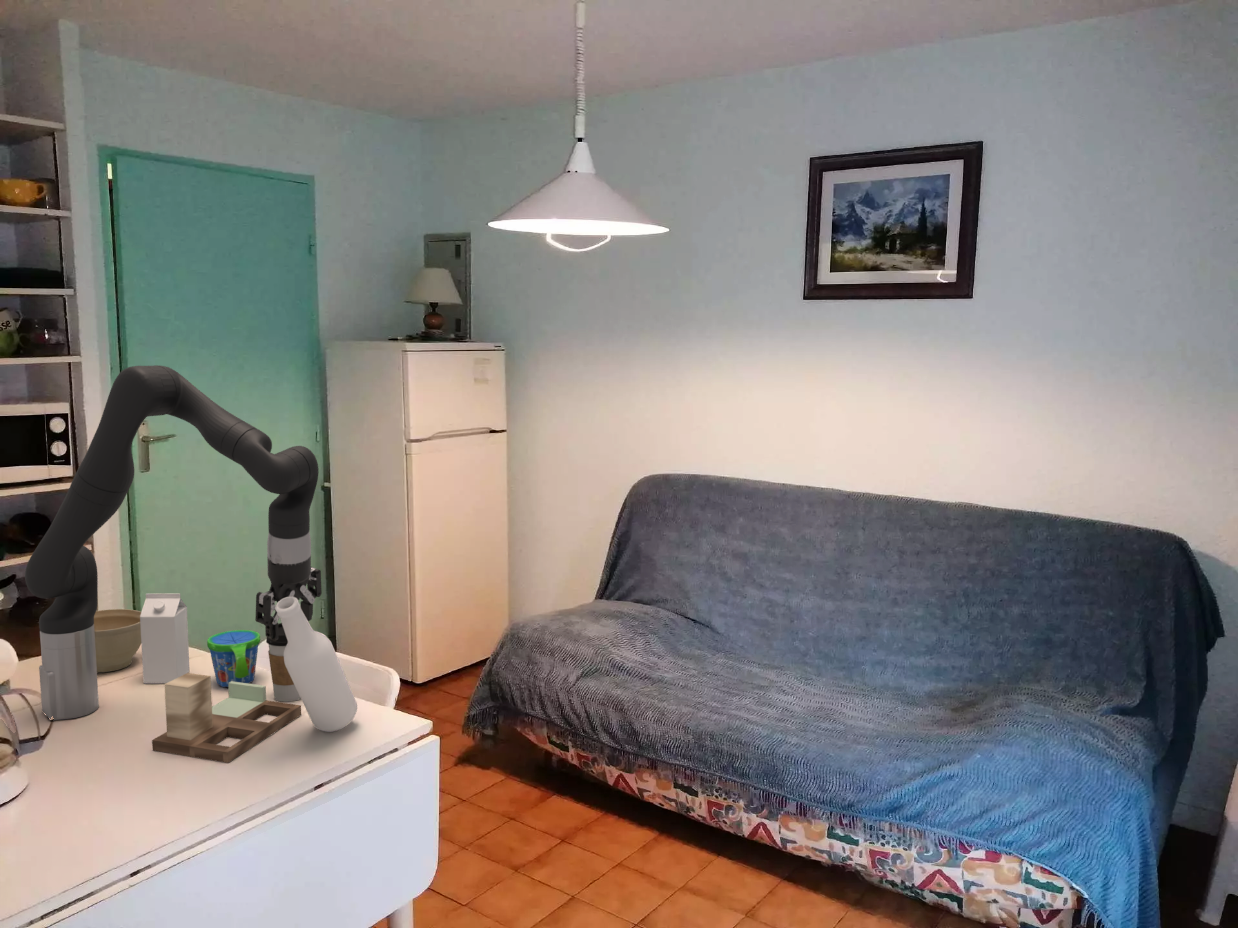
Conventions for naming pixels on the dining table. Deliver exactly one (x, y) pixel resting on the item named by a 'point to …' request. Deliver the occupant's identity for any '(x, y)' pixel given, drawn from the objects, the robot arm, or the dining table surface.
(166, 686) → the maple block
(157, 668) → the milk carton
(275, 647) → the coffee cup
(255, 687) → the green l-shaped block
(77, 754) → the dining table surface
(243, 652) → the snack cup
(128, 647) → the planter bowl
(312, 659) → the alcohol
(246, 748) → the brown wooden flat frame
